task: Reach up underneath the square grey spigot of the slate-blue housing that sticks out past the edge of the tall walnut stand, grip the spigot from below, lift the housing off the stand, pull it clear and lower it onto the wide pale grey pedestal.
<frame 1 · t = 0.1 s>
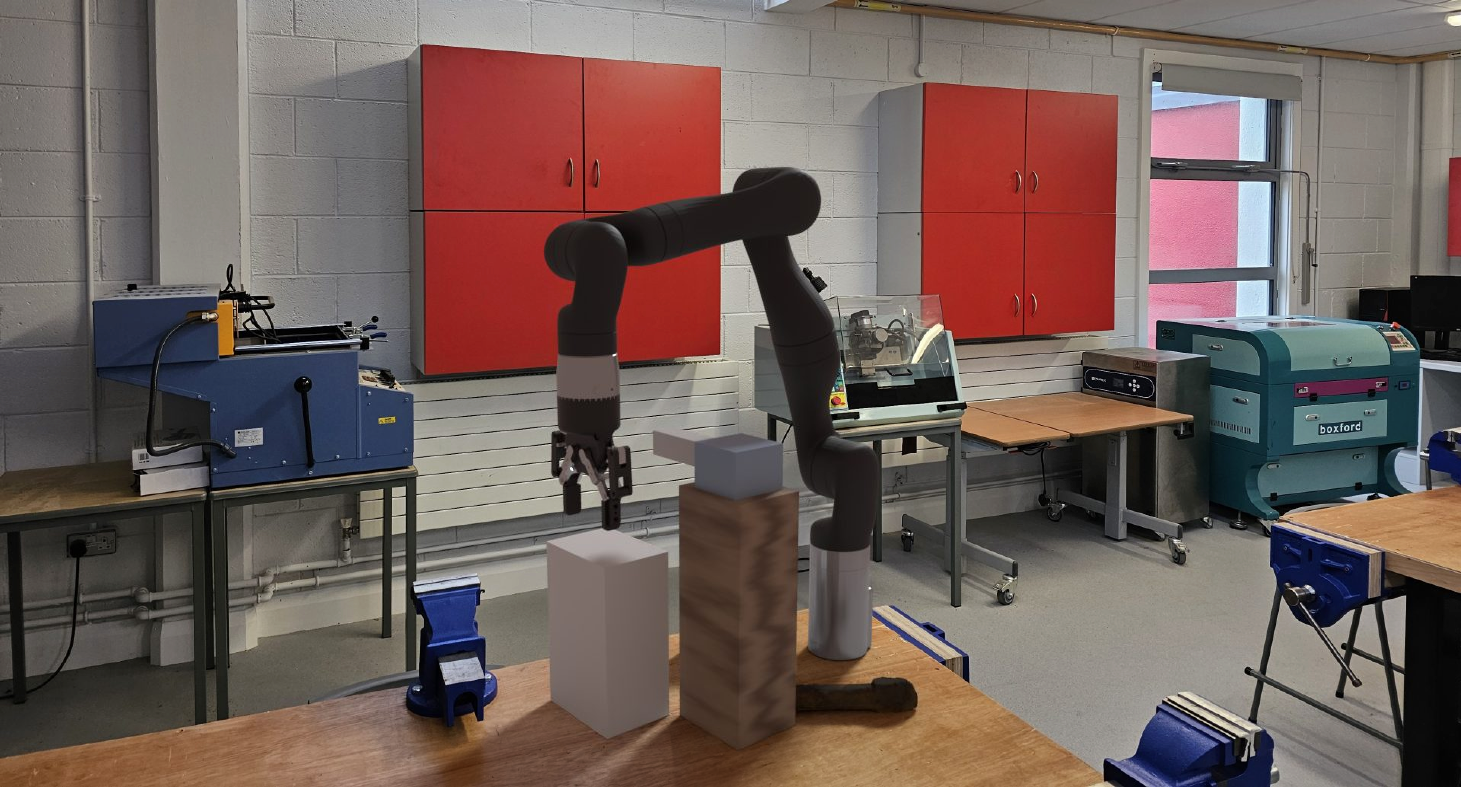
hand: (591, 521, 124), 29 cm above the table, tool pointing down, fingers open, 8 cm apart
walnut stand: (736, 720, 135), on the table
housing: (738, 488, 130), point 32 cm above the table, touching walnut stand
hand tool: (846, 710, 139), on the table
grey pedestal: (609, 707, 139), on the table
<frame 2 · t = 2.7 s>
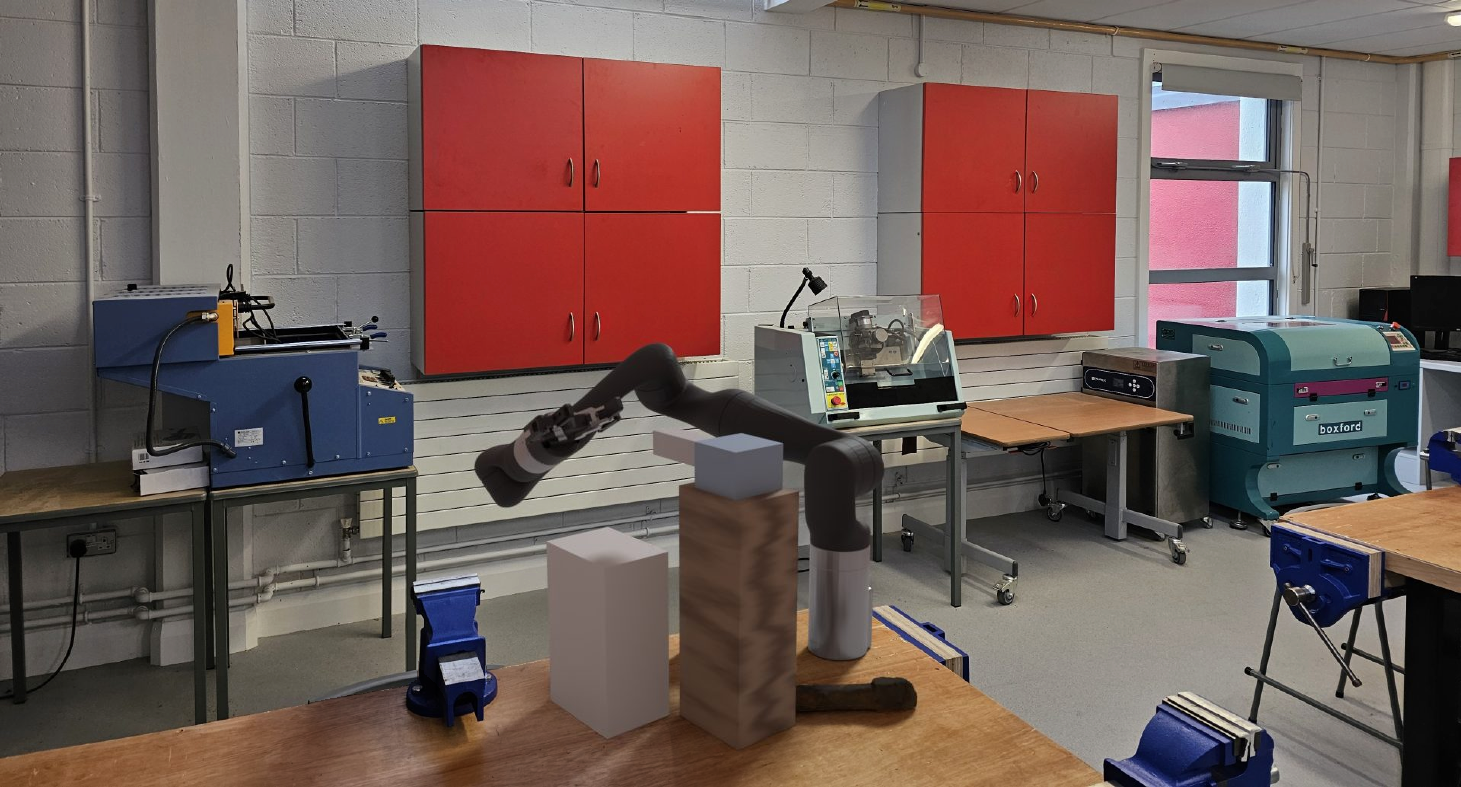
hand: (595, 406, 148), 39 cm above the table, tool pointing upward, fingers open, 8 cm apart
nothing on the table moved.
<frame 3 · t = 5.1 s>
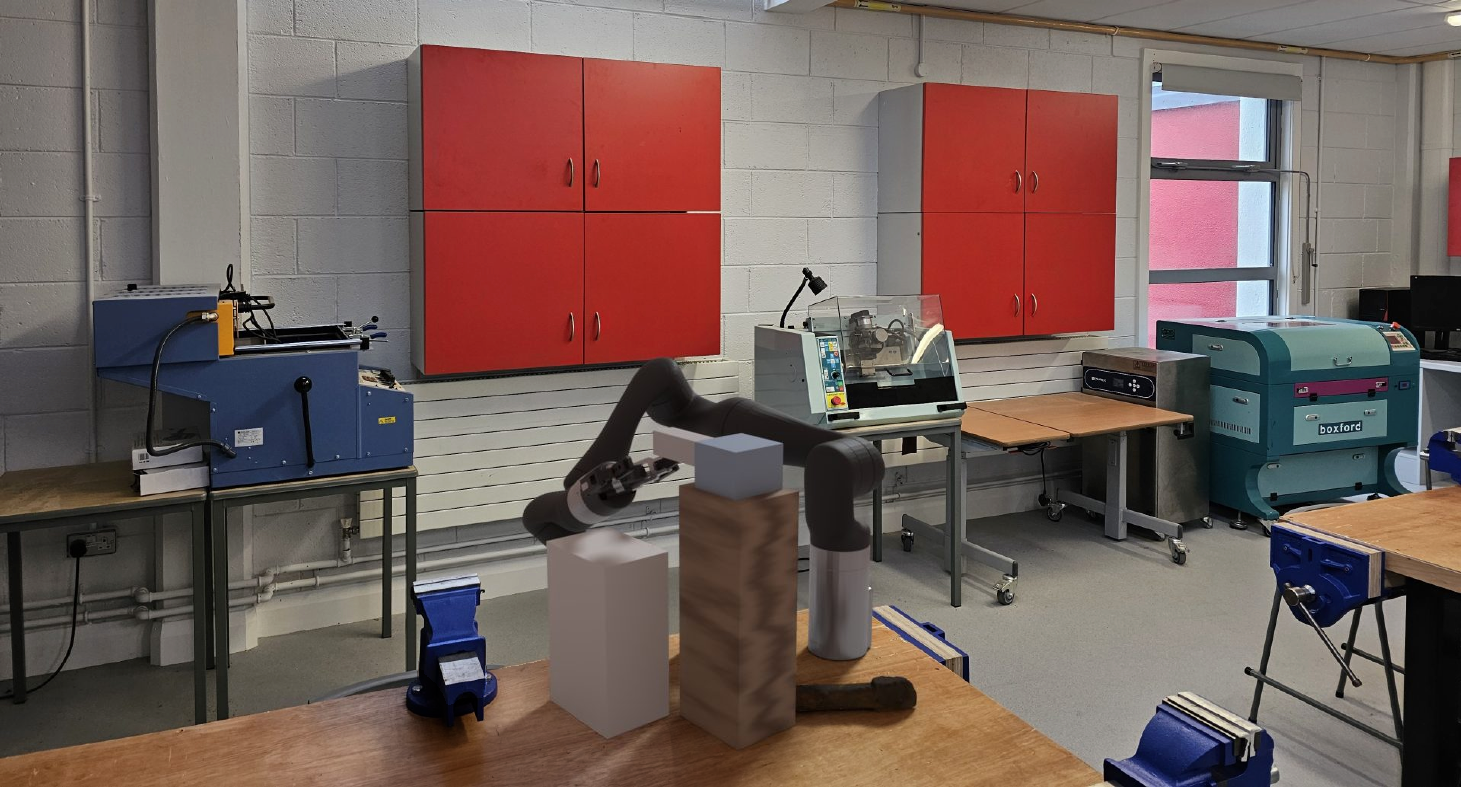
hand: (655, 457, 143), 33 cm above the table, tool pointing upward, fingers open, 8 cm apart
nothing on the table moved.
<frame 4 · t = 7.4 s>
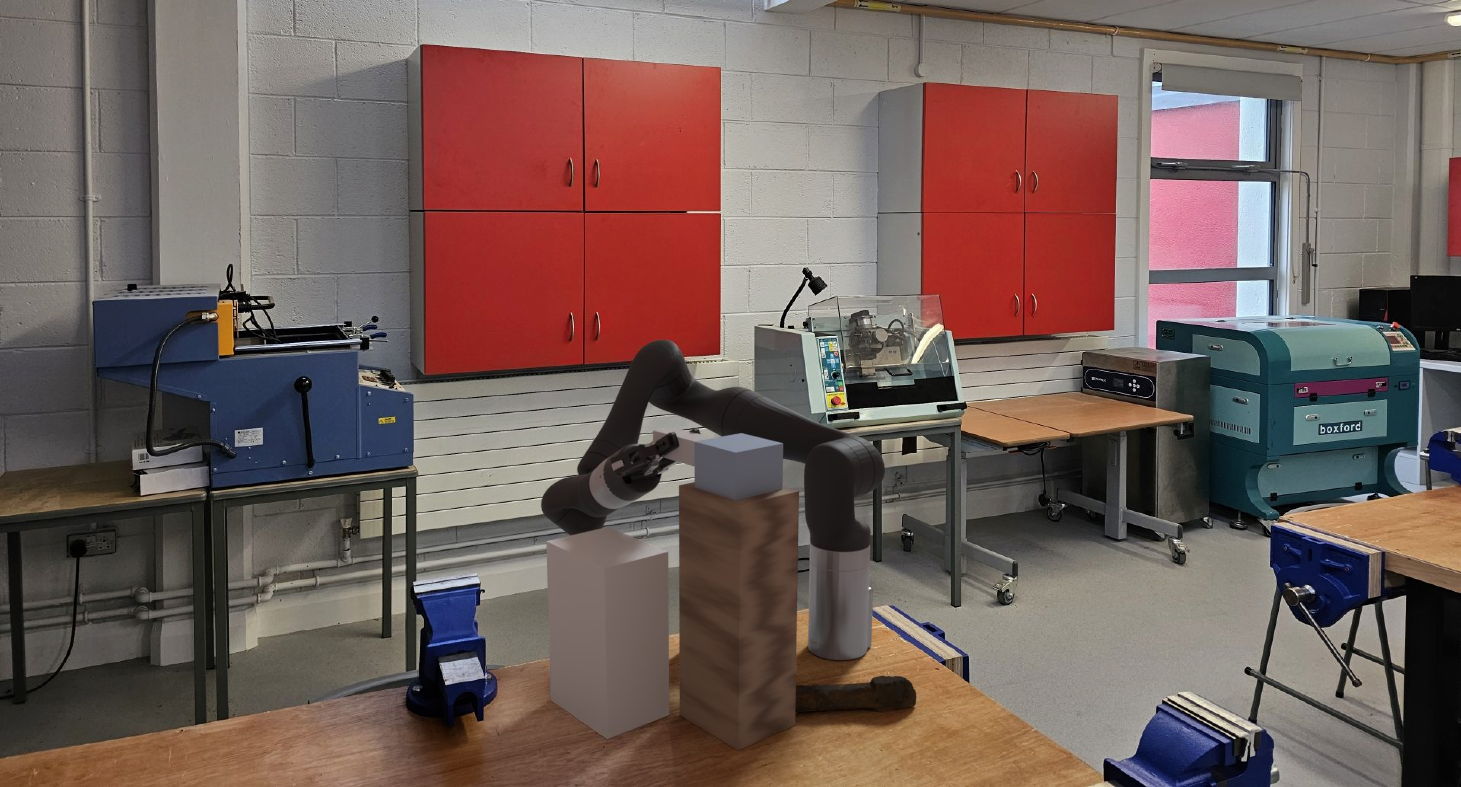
hand: (687, 437, 137), 37 cm above the table, tool pointing upward, fingers closed on housing, 3 cm apart
housing: (738, 488, 130), point 32 cm above the table, touching gripper, walnut stand
everything else where it was.
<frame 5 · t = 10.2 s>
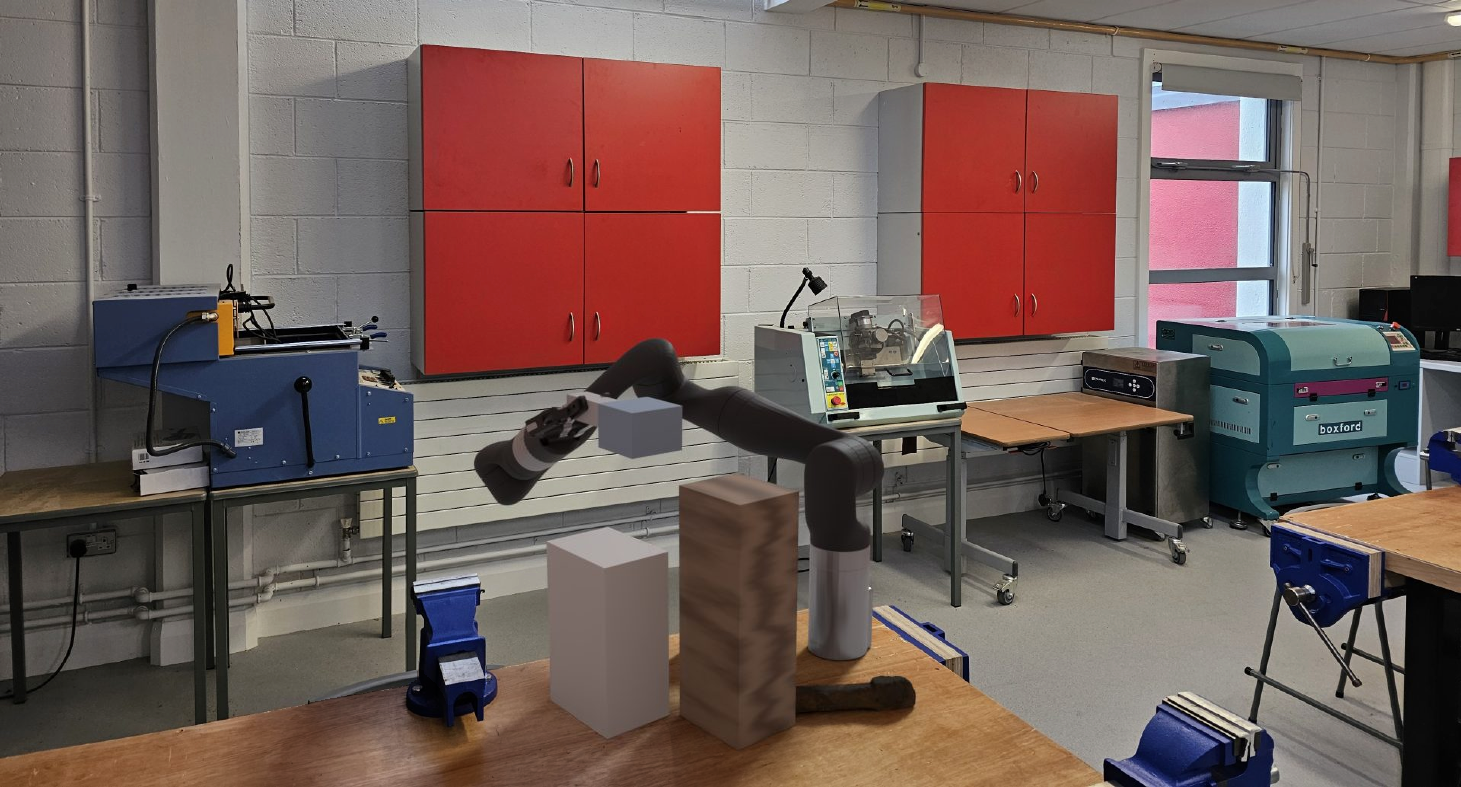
hand: (597, 400, 142), 41 cm above the table, tool pointing upward, fingers closed on housing, 3 cm apart
housing: (640, 448, 135), point 36 cm above the table, touching gripper
everything else where it was.
when the fingers open (29 cm above the table, at t = 13.2 s): housing stays where it is, resting on grey pedestal.
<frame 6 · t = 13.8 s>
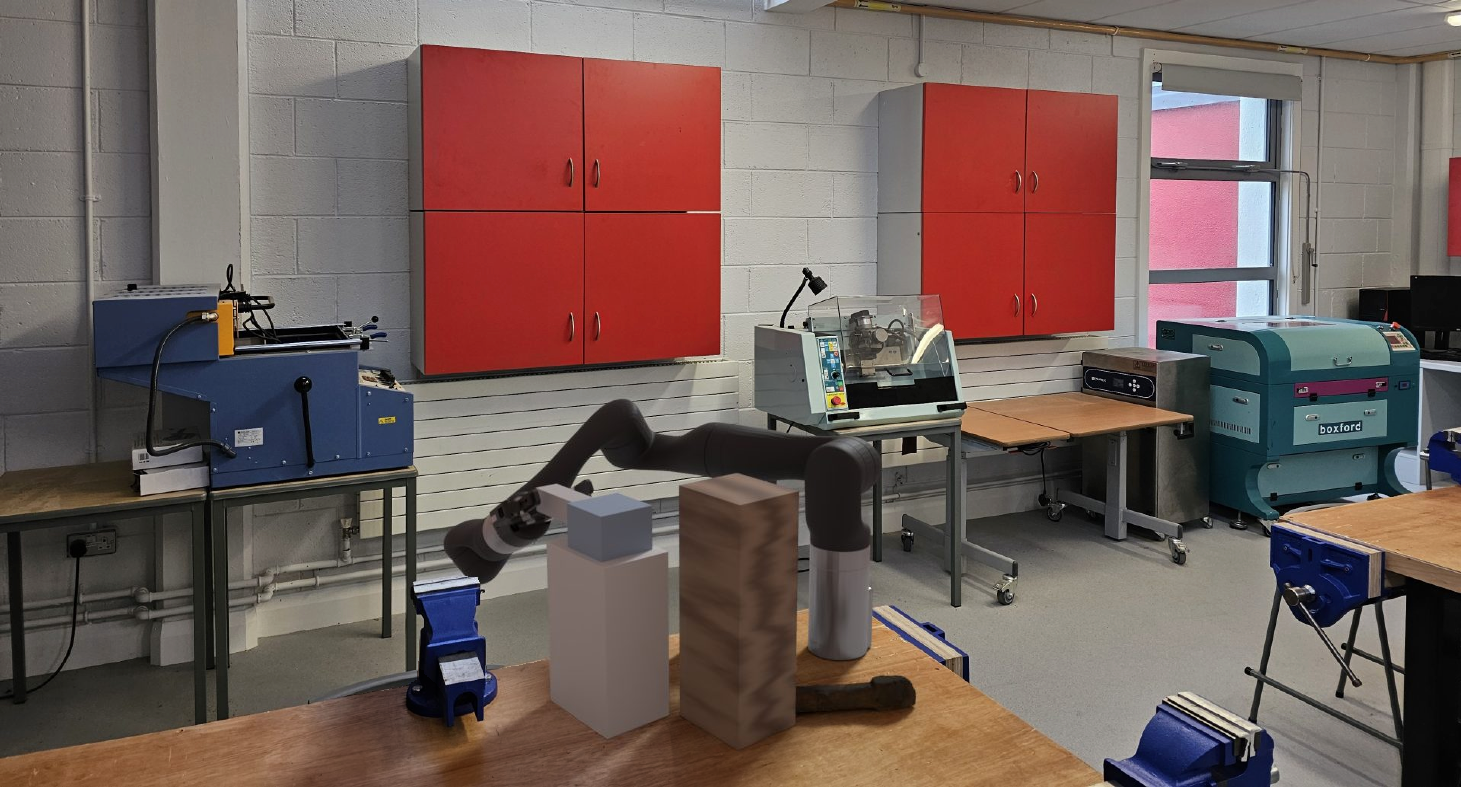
hand: (564, 490, 142), 28 cm above the table, tool pointing upward, fingers open, 8 cm apart
housing: (610, 548, 134), point 23 cm above the table, touching grey pedestal
everything else where it was.
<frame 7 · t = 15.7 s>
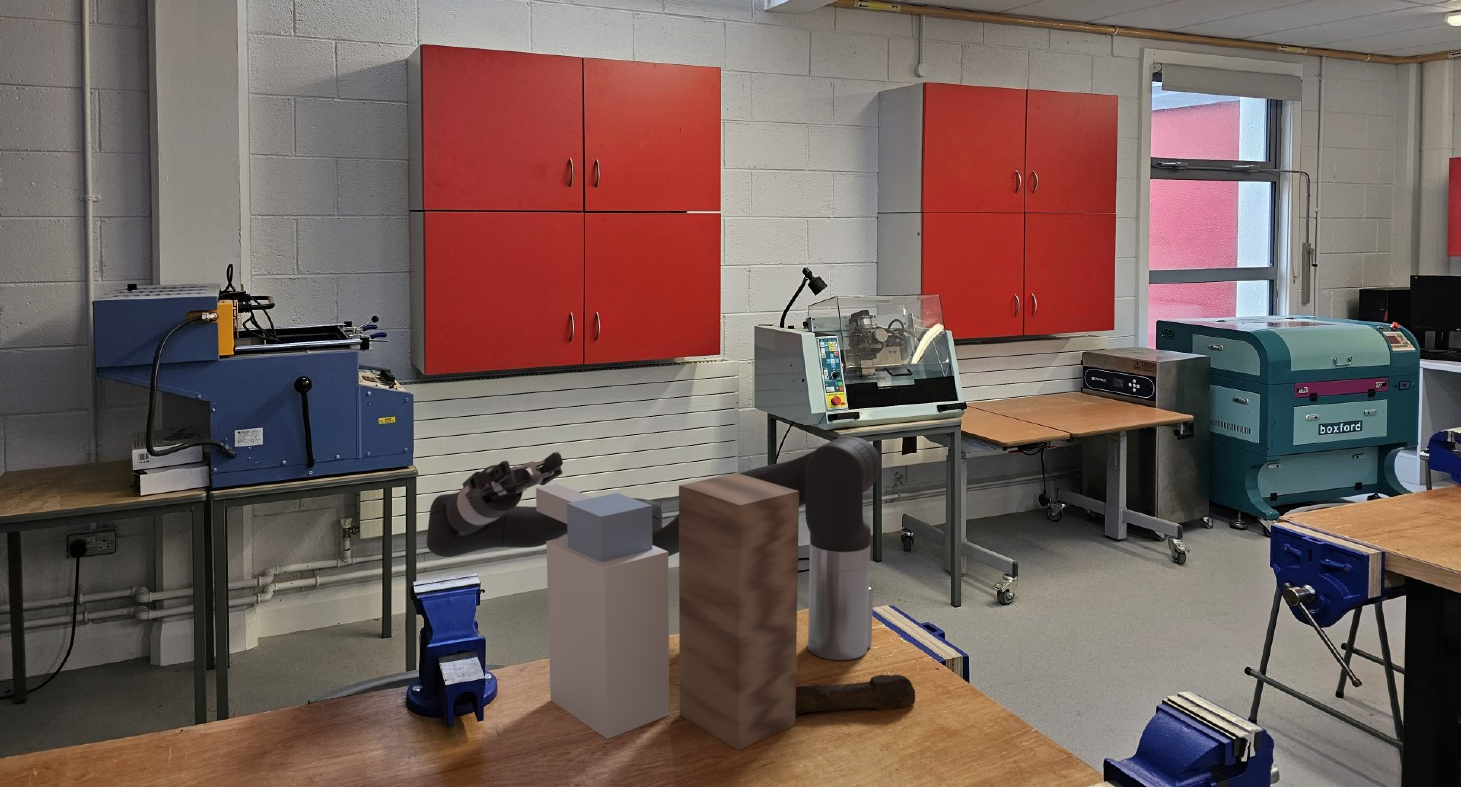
hand: (533, 462, 148), 31 cm above the table, tool pointing upward, fingers open, 8 cm apart
nothing on the table moved.
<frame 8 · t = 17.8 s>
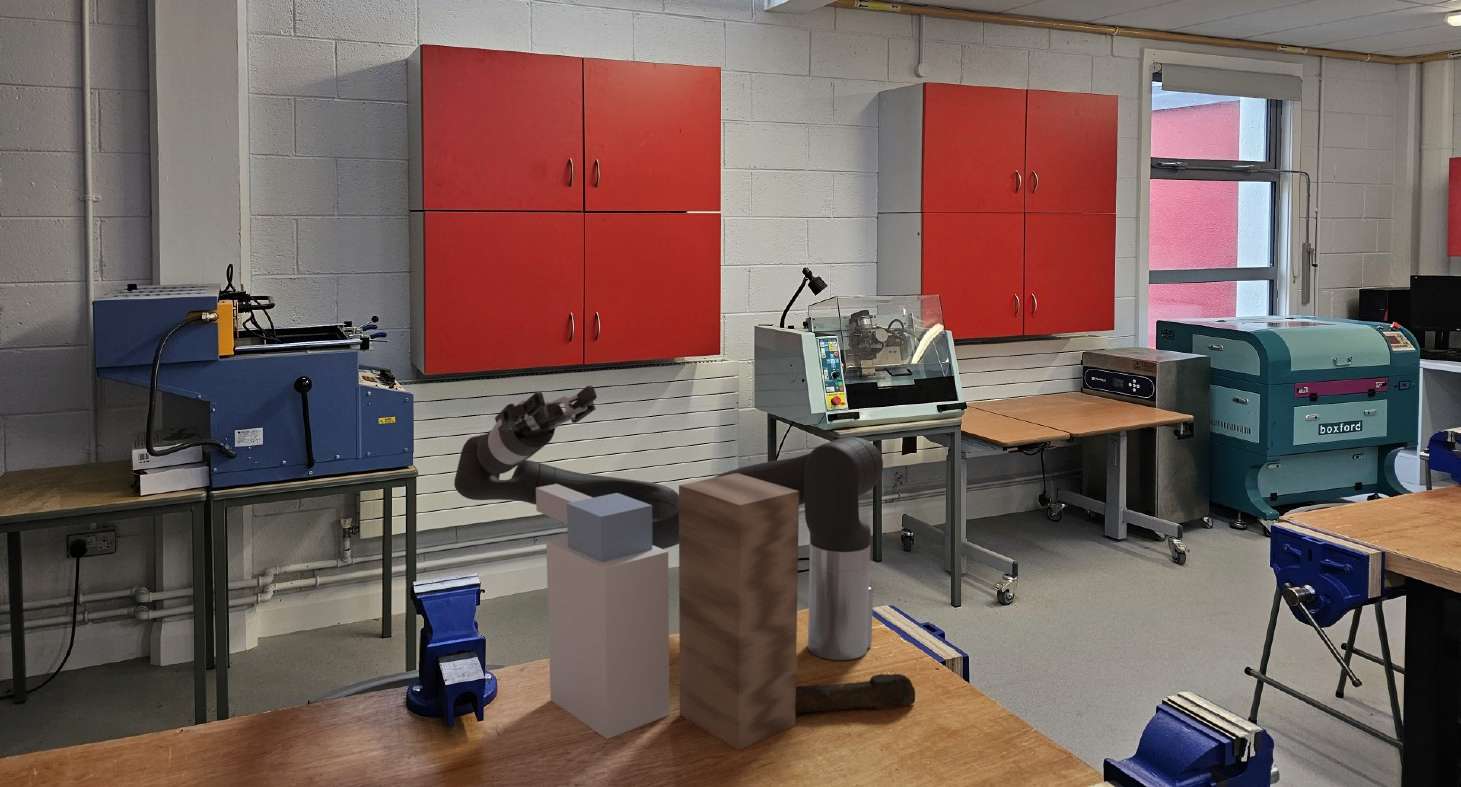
hand: (567, 394, 146), 41 cm above the table, tool pointing upward, fingers open, 8 cm apart
nothing on the table moved.
at the end: housing inside the target area on the grey pedestal (0.1 cm from its centre), point 23.0 cm above the grey pedestal's base; housing tilted 0°; the gripper is holding nothing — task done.
